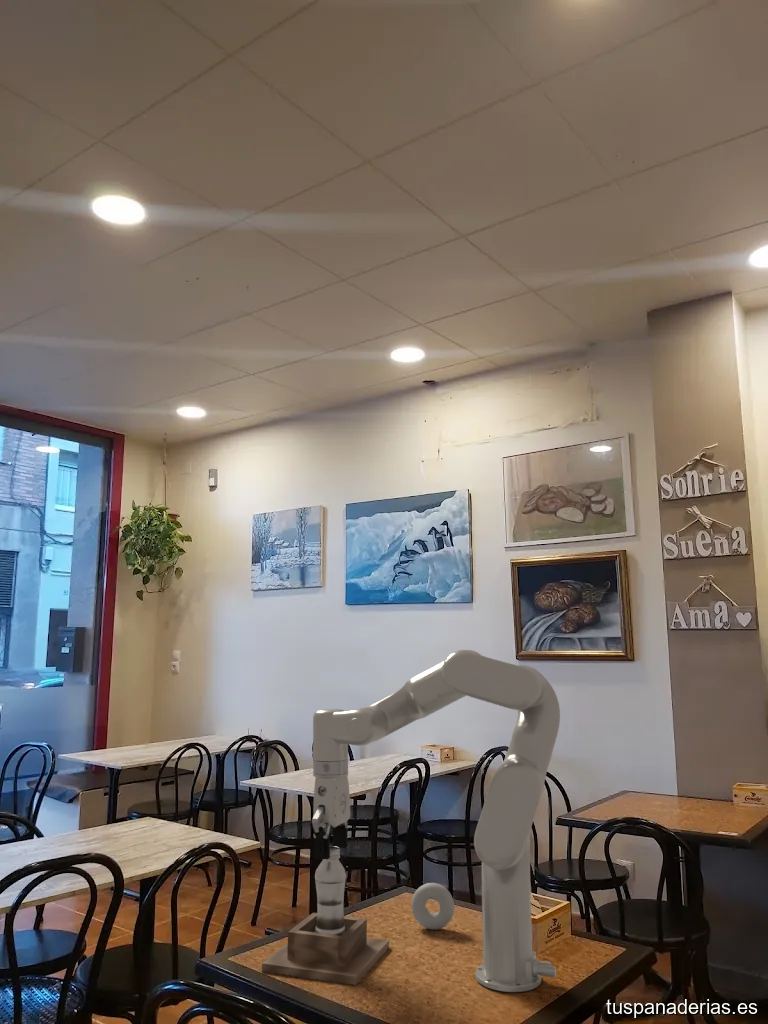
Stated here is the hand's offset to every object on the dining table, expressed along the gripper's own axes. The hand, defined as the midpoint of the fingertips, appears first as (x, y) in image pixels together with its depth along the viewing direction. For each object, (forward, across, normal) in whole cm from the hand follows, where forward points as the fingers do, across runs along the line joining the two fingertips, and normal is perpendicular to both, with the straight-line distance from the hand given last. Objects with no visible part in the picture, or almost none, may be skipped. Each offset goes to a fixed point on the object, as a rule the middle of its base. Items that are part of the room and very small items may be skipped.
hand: (331, 852), depth 163 cm
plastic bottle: (+19, 0, +1) cm, 19 cm away
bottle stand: (+21, 0, +1) cm, 21 cm away
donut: (+21, +24, -15) cm, 35 cm away
